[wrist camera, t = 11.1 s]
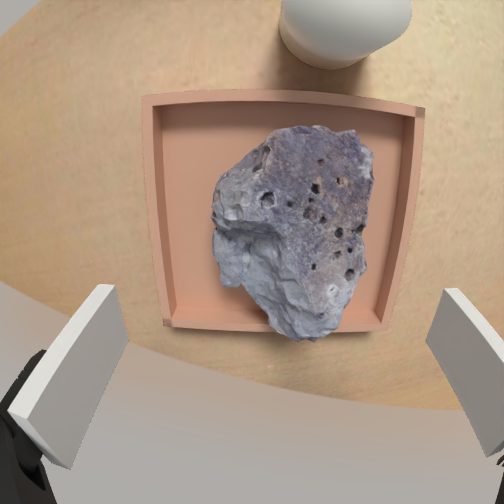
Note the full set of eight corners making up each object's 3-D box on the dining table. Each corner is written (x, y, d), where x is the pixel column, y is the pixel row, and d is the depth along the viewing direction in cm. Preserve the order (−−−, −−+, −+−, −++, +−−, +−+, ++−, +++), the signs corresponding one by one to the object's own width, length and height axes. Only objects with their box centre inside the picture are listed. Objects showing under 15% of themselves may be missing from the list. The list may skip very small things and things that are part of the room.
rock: (337, 332, 25) (390, 363, 15) (217, 335, 25) (203, 374, 15) (334, 167, 26) (380, 116, 16) (218, 164, 26) (208, 104, 16)
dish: (172, 307, 28) (163, 325, 26) (156, 98, 21) (141, 96, 18) (377, 311, 28) (387, 330, 25) (407, 108, 20) (425, 108, 17)
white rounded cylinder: (278, 66, 20) (284, 39, 12) (278, -12, 17) (283, -62, 9) (370, 75, 19) (415, 58, 12) (367, -1, 16) (405, -41, 9)
